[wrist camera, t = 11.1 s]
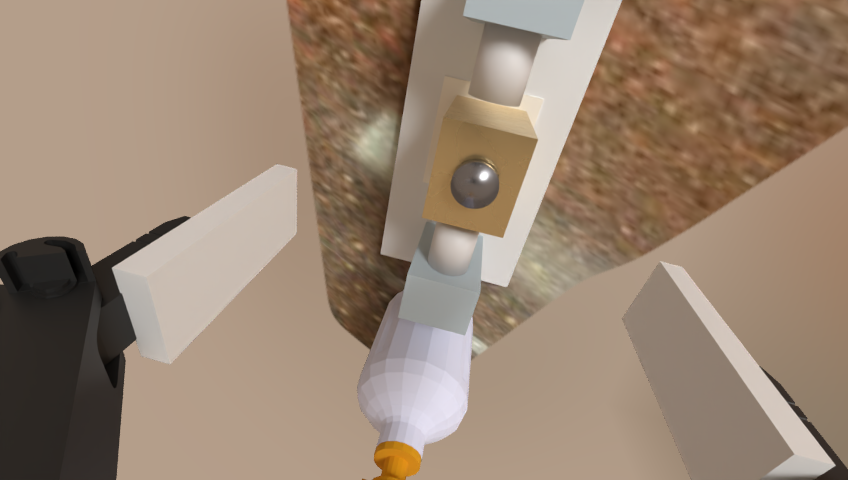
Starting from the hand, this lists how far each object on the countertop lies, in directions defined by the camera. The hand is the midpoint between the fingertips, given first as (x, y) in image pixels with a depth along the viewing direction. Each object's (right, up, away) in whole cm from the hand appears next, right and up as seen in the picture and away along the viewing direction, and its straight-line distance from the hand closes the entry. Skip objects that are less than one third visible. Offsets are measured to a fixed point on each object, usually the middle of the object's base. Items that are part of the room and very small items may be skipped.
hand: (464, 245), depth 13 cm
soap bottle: (-1, -8, +25) cm, 26 cm away
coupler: (+3, +7, +14) cm, 16 cm away
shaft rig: (+3, +8, +15) cm, 17 cm away
